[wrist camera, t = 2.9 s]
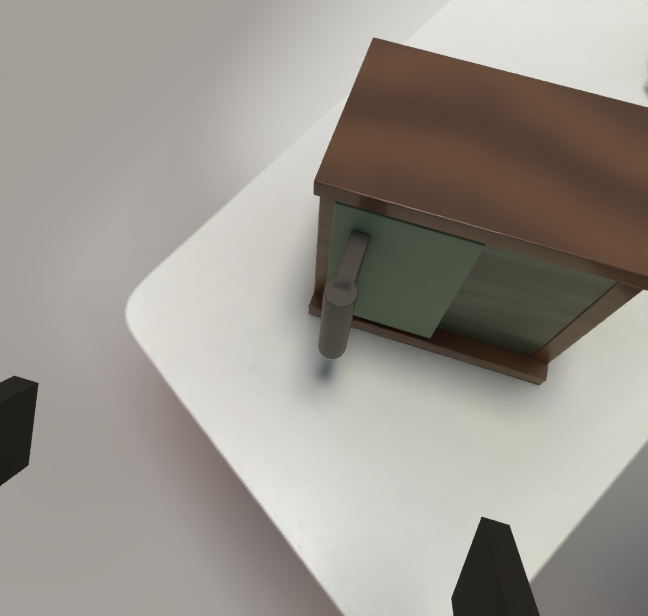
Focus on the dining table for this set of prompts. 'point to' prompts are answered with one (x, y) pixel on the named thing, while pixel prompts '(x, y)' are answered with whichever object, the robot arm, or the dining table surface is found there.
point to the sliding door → (389, 275)
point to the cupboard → (496, 198)
